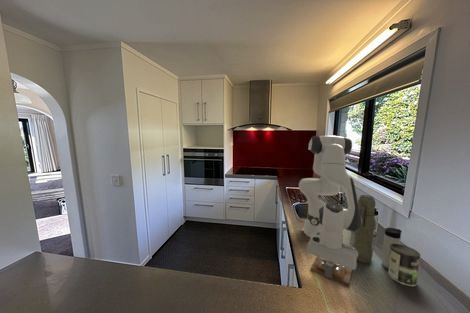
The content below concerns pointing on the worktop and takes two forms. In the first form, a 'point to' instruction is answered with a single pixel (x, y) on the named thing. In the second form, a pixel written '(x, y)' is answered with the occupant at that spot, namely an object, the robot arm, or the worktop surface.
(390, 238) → the travel mug
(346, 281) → the post base
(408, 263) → the coffee can
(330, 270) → the collar
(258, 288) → the worktop surface
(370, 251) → the thermos
